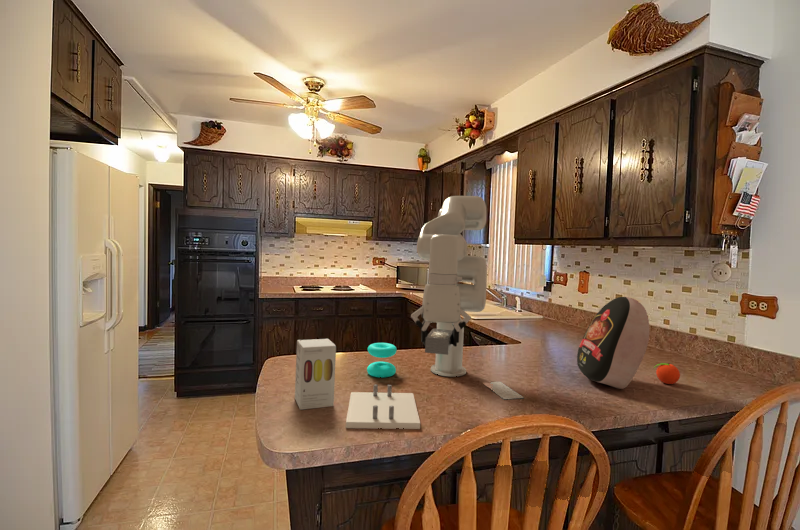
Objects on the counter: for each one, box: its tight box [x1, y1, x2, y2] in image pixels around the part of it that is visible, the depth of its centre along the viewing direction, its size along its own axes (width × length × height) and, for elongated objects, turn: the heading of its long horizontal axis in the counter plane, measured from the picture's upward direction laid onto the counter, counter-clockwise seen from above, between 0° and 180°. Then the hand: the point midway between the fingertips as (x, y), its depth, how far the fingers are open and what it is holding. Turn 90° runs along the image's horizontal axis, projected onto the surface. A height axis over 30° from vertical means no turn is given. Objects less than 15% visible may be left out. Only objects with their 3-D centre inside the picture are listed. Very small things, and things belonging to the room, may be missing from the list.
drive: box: [424, 328, 453, 355], centre depth 112 cm, size 12×6×4 cm, turn 166°
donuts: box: [366, 342, 398, 379], centre depth 141 cm, size 10×10×10 cm
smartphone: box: [490, 381, 525, 401], centre depth 130 cm, size 7×1×15 cm
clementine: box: [653, 362, 681, 385], centre depth 143 cm, size 8×7×7 cm
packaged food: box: [576, 296, 651, 390], centre depth 140 cm, size 22×20×30 cm
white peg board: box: [345, 383, 421, 430], centre depth 109 cm, size 20×18×4 cm
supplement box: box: [294, 338, 337, 410], centre depth 114 cm, size 10×9×17 cm
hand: (439, 344), depth 112 cm, fingers closed on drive, 7 cm apart
